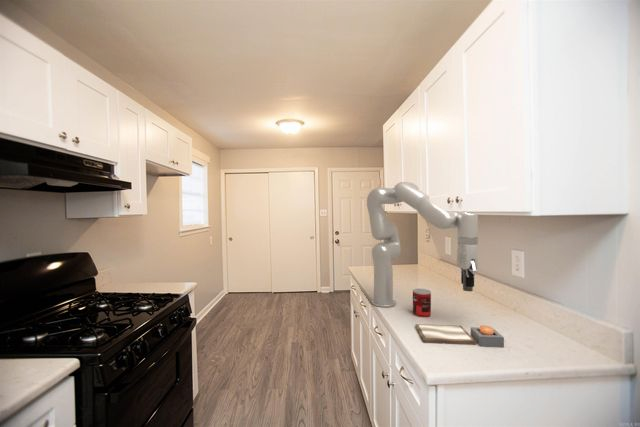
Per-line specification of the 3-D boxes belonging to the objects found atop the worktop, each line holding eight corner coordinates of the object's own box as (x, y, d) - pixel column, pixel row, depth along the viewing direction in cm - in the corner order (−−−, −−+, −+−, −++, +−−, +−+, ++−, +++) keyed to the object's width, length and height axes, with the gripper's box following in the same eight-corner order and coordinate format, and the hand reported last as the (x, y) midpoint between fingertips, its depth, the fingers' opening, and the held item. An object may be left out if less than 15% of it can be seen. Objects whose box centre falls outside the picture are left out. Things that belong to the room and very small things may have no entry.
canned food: (414, 310, 138) (414, 287, 138) (432, 313, 134) (432, 289, 134) (411, 315, 131) (410, 291, 131) (429, 318, 127) (429, 294, 127)
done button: (477, 333, 107) (477, 325, 107) (490, 333, 107) (490, 325, 107) (482, 338, 103) (482, 330, 103) (495, 339, 102) (495, 330, 102)
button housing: (470, 336, 109) (470, 327, 109) (492, 337, 108) (492, 327, 108) (479, 346, 101) (479, 336, 101) (503, 347, 100) (503, 337, 100)
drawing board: (415, 327, 118) (415, 323, 118) (461, 328, 116) (461, 325, 116) (423, 342, 104) (423, 338, 104) (475, 344, 102) (475, 340, 102)
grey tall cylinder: (461, 288, 121) (461, 263, 121) (470, 289, 121) (470, 263, 120) (464, 291, 117) (464, 264, 117) (474, 291, 117) (474, 264, 117)
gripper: (450, 239, 127) (451, 280, 127) (466, 243, 111) (466, 290, 111) (468, 239, 127) (468, 280, 127) (486, 243, 110) (486, 291, 110)
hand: (467, 284), depth 119 cm, fingers closed on grey tall cylinder, 3 cm apart
